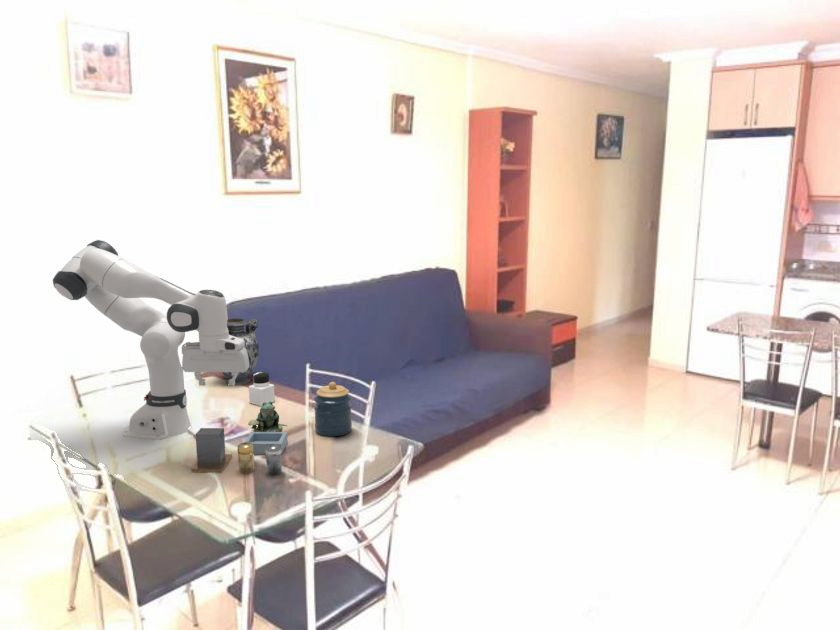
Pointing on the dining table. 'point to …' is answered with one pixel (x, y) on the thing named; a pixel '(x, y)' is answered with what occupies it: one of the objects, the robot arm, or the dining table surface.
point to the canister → (332, 410)
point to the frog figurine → (267, 420)
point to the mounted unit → (211, 450)
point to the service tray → (266, 440)
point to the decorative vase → (250, 345)
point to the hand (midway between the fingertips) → (217, 385)
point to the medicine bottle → (261, 389)
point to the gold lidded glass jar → (246, 457)
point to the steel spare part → (273, 459)
